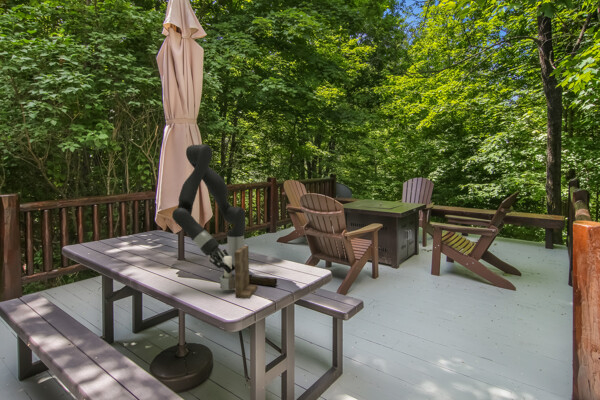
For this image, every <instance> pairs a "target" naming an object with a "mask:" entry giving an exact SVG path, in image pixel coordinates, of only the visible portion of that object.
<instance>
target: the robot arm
mask: <svg viewBox="0 0 600 400" xmlns="http://www.w3.org/2000/svg"><path fill="white" fill-rule="evenodd" d="M185 155H186V158H187V160H188V162H189V164H190V165H191V167H192V168H193V171H192V172H191V174H190V175H189V176H188V177H187V178H186V180H185V181H184V183H182V186H181V189H180V193H179V196H178V203H177V204H178V206H177V208H175V209H174V210H173V211H172V215H171V216H172V221H174V222H175V224H176V225H178V226H179V227H180V228H181V229H182V230H184V232H185V233H186V235H187V236H188V237H189V238H190V239H191V240H192V241H193V243H194V244H195V245H196V246H197V248H198V249H199V250H201V252H202V254H204V255H205V256H206V257H207V256H209V257H210V259H209V263H212V264H213V265H214V266H215V267H217V268H218V269H221V268H222V269H223V271H224V270H225V271H226V272H227V273H228V274H229V273H230V272H231V271H232V272H233V271H235V252H236V251H237V250H239V249H240V248H241V247H243V246H245V230H246V211H245V209H244V208H243V207H239V206H232V205H231V204H230V202H229V200H228V196H229V187H228V186H227V184H226V182H225V180H224V179H223V177H222V176H221V175H220V174H218V173H217V172H216V171H215V170H214V169H212V168H210V164H211V162H212V158H213V150H212V147H211V146H209V144H192V145H188V146H187V148H186V150H185ZM202 182H203V183H204V185H205V187H206V189H207V190H208V192H209V193H210V195H211V196H212V198H213V200H214V201H215V203H216V205H217V206H218V209H219V211H220V213H221V215H222V217H223V219H224V221H225V222H226V223H229V224H233V228H231V229H229V230H227V233H226V234H227V235H226V237H227V250H226V249H225V248H224V249H223V250H222V249H221V248H220V247H219V246H220V243H219V242H218V241H217V240H216V239H215V238H214V236H212V235H211V234H210V233H209V232H208V231H206V230H205V228H204V227H203V226H202V225H201V224H200V223H198V221H196V219H195V218H194V217H193V216H192V213H193V207H194V204H195V203H194V202H195V200H196V197H197V194H198V191H199V188H200V184H201V183H202ZM224 256H232V269H231V268H230V267H229V266H228V265H226V263H225V261H224Z"/></svg>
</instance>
